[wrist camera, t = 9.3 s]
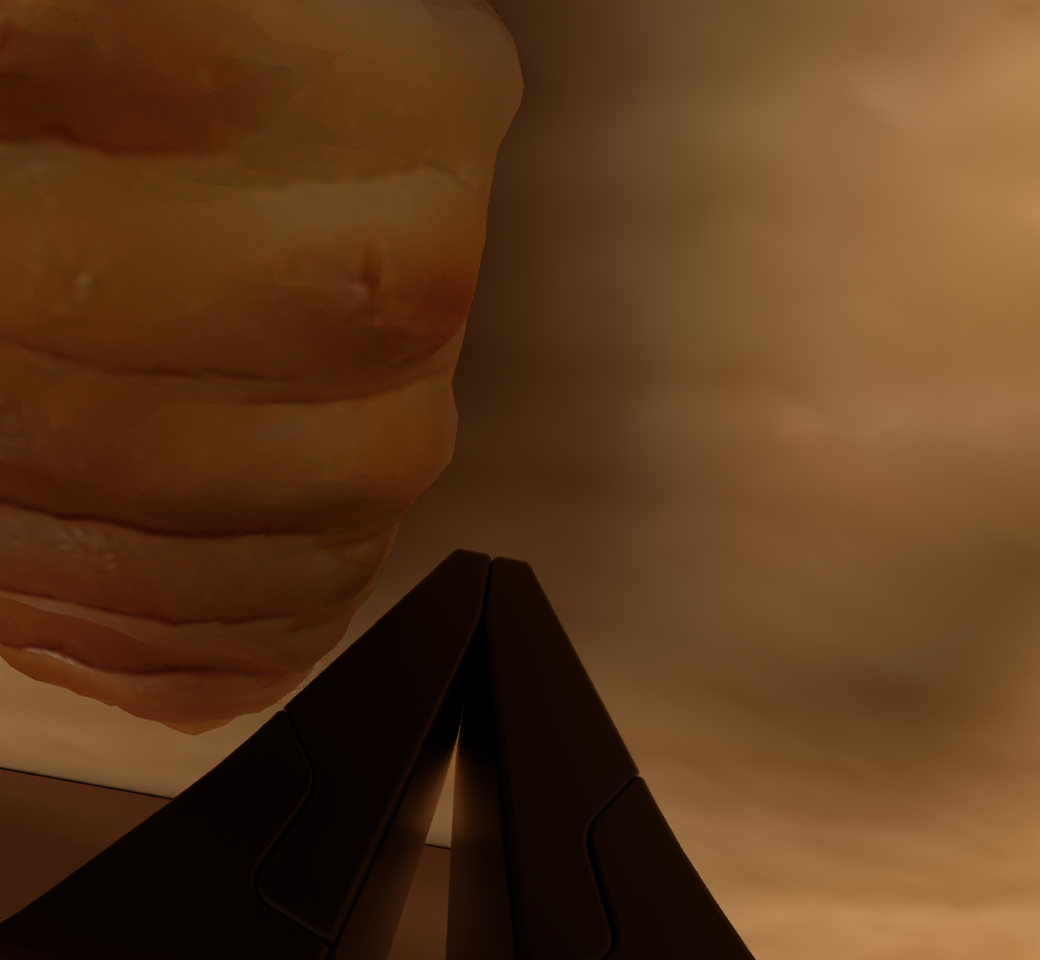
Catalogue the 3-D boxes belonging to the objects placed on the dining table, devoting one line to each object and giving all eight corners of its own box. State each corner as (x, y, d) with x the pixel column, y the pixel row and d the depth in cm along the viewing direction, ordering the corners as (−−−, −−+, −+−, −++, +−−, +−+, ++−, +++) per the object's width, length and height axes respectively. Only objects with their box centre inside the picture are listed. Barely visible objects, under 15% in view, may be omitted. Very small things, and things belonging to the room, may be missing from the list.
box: (625, 917, 15) (632, 1111, 12) (-187, 772, 14) (-357, 943, 12) (1110, -211, 7) (1447, -347, 4) (-735, -635, 6) (-1692, -1096, 4)
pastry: (418, 675, 12) (356, 917, 9) (-24, 584, 12) (-250, 799, 9) (552, -36, 8) (521, -65, 4) (-168, -209, 7) (-767, -374, 4)
